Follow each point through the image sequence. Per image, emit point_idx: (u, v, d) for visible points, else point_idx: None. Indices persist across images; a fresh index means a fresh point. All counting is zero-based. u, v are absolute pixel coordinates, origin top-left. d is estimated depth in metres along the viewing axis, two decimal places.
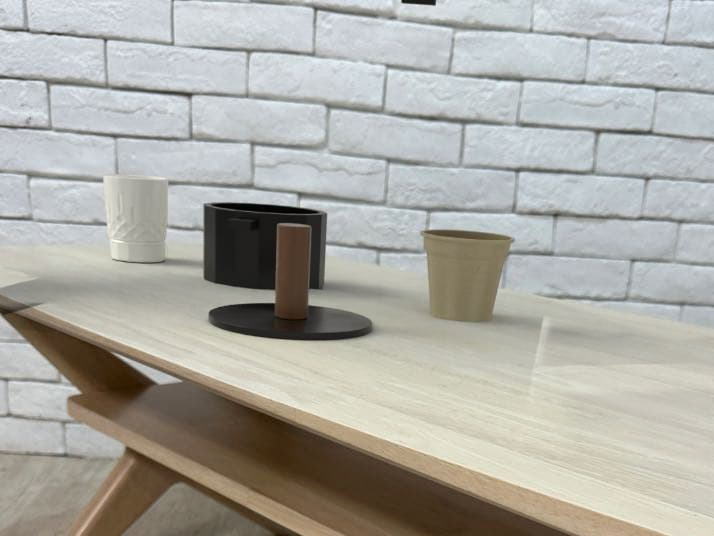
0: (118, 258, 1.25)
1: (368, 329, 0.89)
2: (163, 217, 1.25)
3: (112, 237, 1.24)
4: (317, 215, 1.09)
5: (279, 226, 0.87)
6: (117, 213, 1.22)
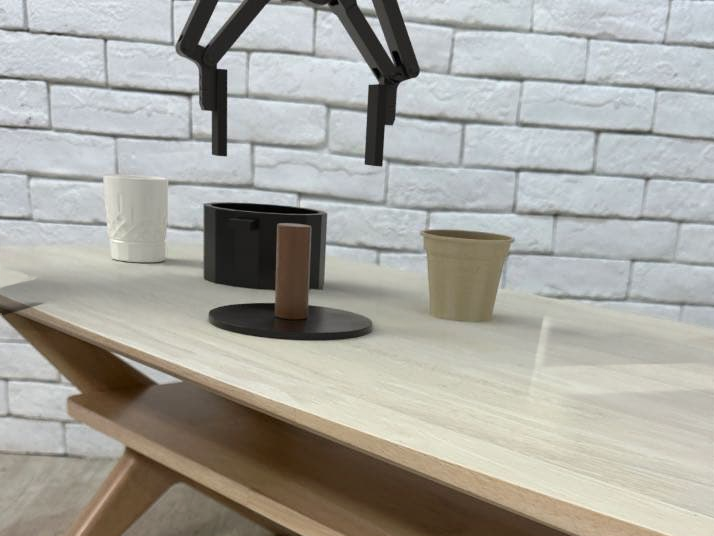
0: (118, 258, 1.25)
1: (368, 329, 0.89)
2: (163, 217, 1.25)
3: (112, 237, 1.24)
4: (317, 215, 1.09)
5: (279, 226, 0.87)
6: (117, 213, 1.22)
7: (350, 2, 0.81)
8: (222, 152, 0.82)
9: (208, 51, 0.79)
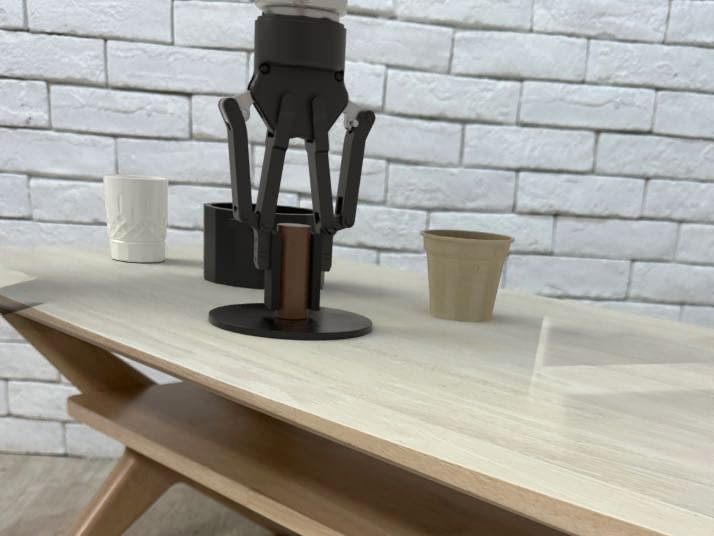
0: (118, 258, 1.25)
1: (368, 329, 0.89)
2: (163, 217, 1.25)
3: (112, 237, 1.24)
4: None
5: (279, 226, 0.87)
6: (117, 213, 1.22)
7: (322, 147, 0.84)
8: (275, 306, 0.88)
9: (261, 220, 0.85)
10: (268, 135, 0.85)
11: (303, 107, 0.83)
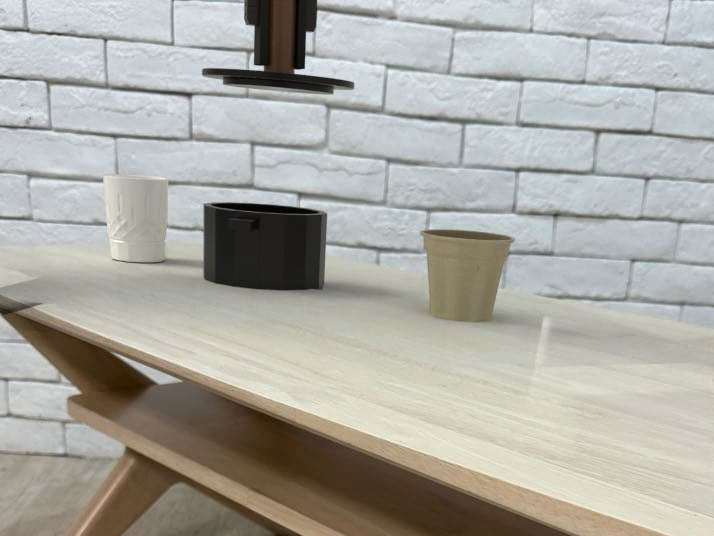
0: (118, 258, 1.25)
1: (349, 83, 0.96)
2: (163, 217, 1.25)
3: (112, 237, 1.24)
4: (317, 215, 1.09)
5: None
6: (117, 213, 1.22)
7: None
8: (263, 61, 0.95)
9: None
10: None
11: None
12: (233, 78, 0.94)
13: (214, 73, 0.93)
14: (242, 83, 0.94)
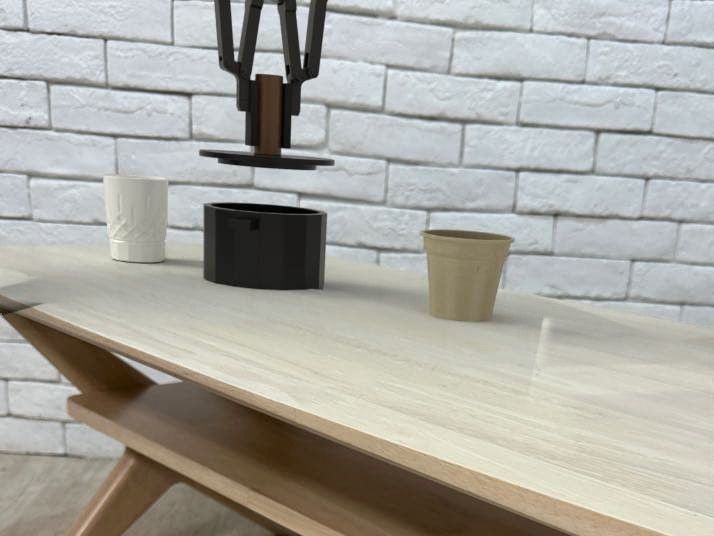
0: (118, 258, 1.25)
1: (330, 162, 1.08)
2: (163, 217, 1.25)
3: (112, 237, 1.24)
4: (317, 215, 1.09)
5: (256, 75, 1.06)
6: (117, 213, 1.22)
7: (291, 7, 1.04)
8: (253, 143, 1.08)
9: (242, 68, 1.04)
10: None
11: None
12: (227, 159, 1.06)
13: (210, 156, 1.05)
14: (235, 164, 1.06)
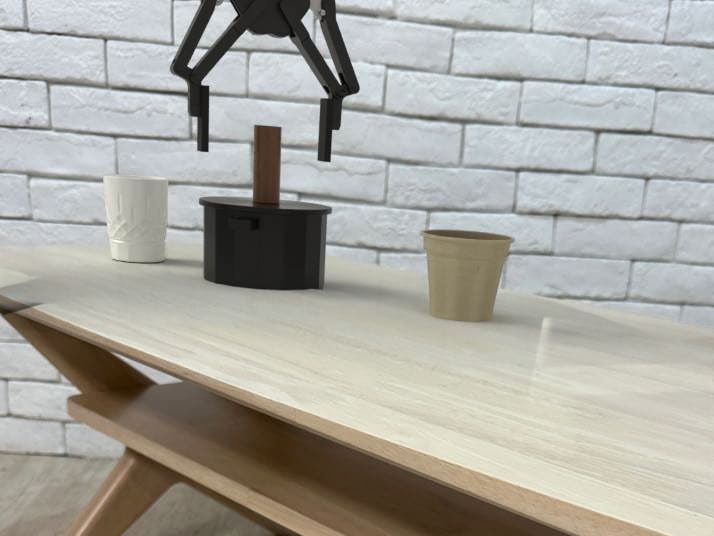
0: (118, 258, 1.25)
1: (328, 211, 1.10)
2: (163, 217, 1.25)
3: (112, 237, 1.24)
4: (317, 215, 1.09)
5: (255, 126, 1.08)
6: (117, 213, 1.22)
7: (304, 36, 1.05)
8: (205, 149, 1.06)
9: (195, 71, 1.03)
10: (233, 21, 1.05)
11: (273, 9, 1.04)
12: None
13: (210, 206, 1.07)
14: None
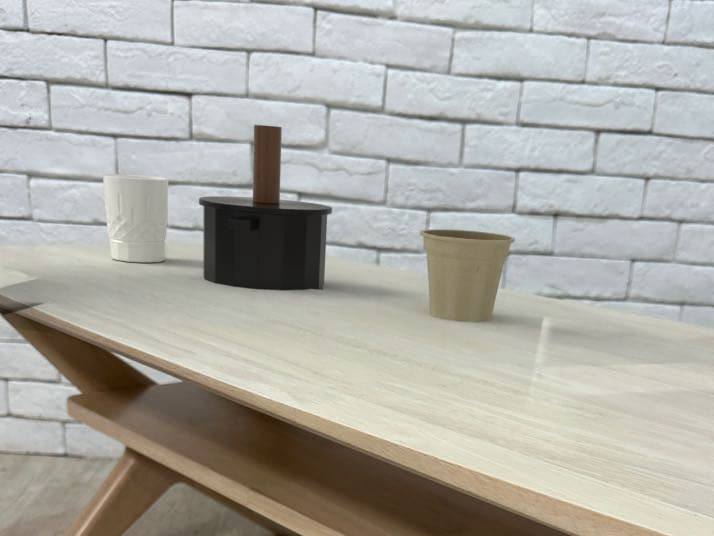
0: (118, 258, 1.25)
1: (328, 211, 1.10)
2: (163, 217, 1.25)
3: (112, 237, 1.24)
4: (317, 215, 1.09)
5: (255, 126, 1.08)
6: (117, 213, 1.22)
7: None
8: None
9: None
10: None
11: None
12: None
13: (210, 206, 1.07)
14: None
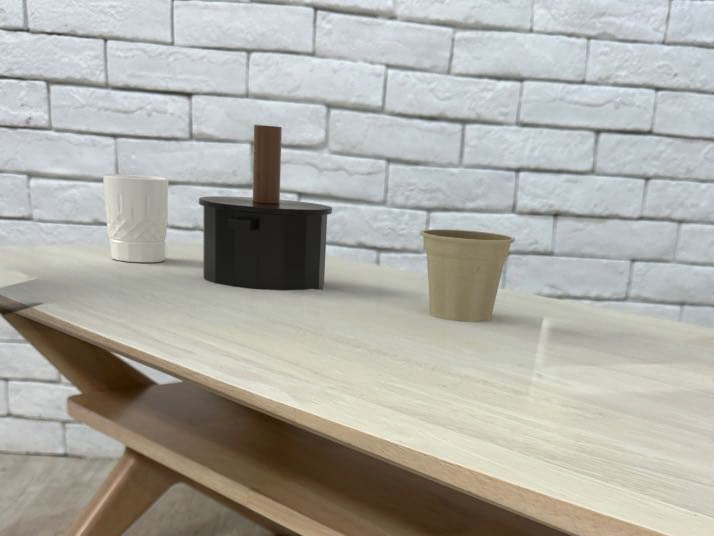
0: (118, 258, 1.25)
1: (328, 211, 1.10)
2: (163, 217, 1.25)
3: (112, 237, 1.24)
4: (317, 215, 1.09)
5: (255, 126, 1.08)
6: (117, 213, 1.22)
7: None
8: None
9: None
10: None
11: None
12: None
13: (210, 206, 1.07)
14: None
